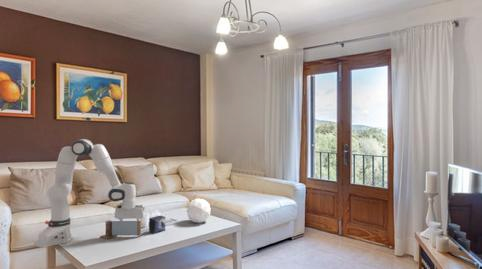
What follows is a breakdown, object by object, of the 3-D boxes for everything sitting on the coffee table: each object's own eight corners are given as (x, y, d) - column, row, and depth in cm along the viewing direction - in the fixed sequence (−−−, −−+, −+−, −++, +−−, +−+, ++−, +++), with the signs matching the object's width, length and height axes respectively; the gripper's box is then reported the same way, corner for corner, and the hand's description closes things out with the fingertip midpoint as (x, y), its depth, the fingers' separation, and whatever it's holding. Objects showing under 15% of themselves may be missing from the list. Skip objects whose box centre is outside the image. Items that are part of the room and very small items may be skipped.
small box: (154, 234, 239) (154, 219, 239) (148, 232, 243) (148, 218, 243) (165, 230, 248) (165, 216, 248) (160, 228, 252) (160, 215, 252)
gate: (111, 235, 231) (111, 221, 231) (113, 234, 234) (113, 220, 233) (140, 235, 232) (140, 221, 232) (141, 234, 234) (141, 220, 234)
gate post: (107, 239, 227) (107, 223, 227) (100, 237, 231) (100, 221, 231) (117, 236, 234) (117, 221, 233) (110, 234, 238) (110, 219, 238)
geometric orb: (203, 231, 267) (207, 215, 256) (180, 221, 270) (184, 205, 258) (212, 215, 282) (216, 199, 271) (191, 205, 285) (194, 189, 273)
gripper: (145, 203, 238) (145, 223, 238) (116, 204, 237) (116, 223, 237) (143, 206, 231) (143, 225, 232) (113, 206, 231) (113, 226, 231)
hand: (129, 224), depth 234 cm, fingers open, 8 cm apart
